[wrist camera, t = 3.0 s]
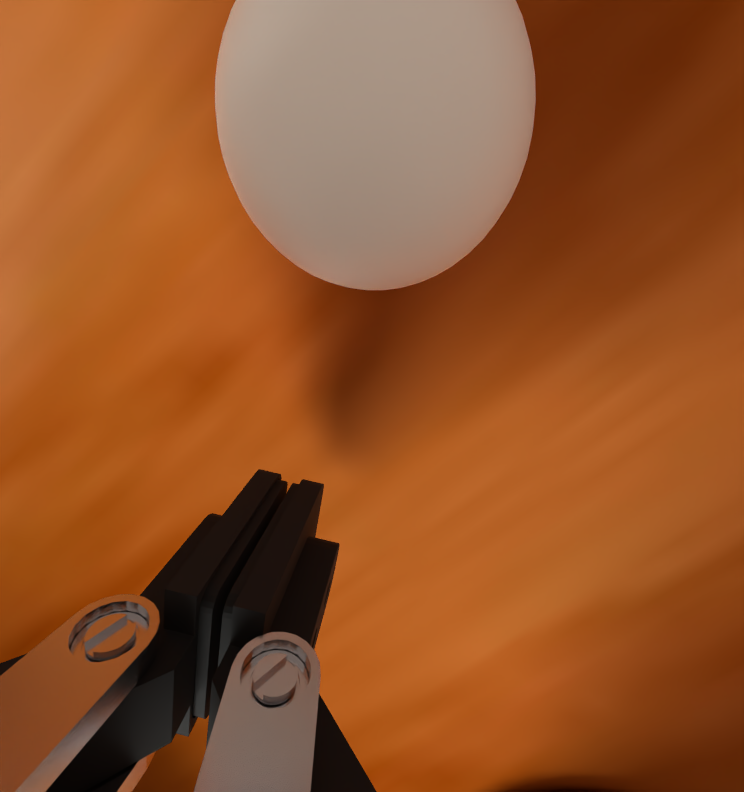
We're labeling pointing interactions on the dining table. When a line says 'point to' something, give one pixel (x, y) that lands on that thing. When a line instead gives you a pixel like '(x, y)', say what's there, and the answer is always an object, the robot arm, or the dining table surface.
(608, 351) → the dining table surface
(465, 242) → the cue ball
